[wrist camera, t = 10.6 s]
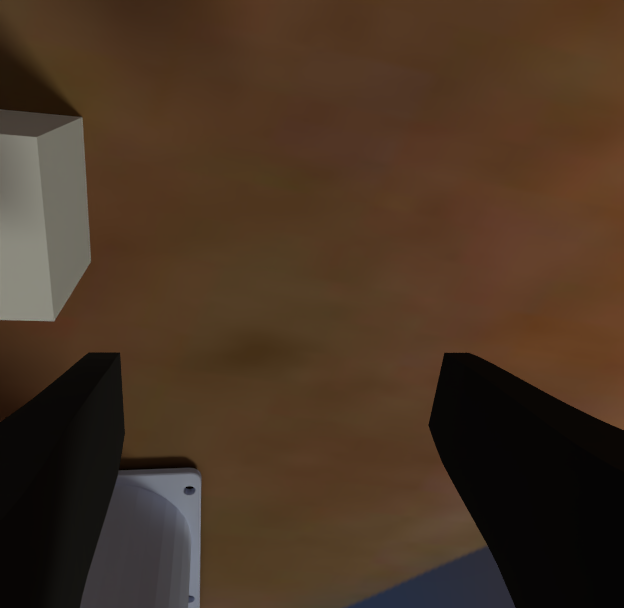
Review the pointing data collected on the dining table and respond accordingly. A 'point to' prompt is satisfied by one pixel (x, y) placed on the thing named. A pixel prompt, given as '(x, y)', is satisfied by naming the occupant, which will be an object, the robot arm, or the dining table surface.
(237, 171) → the dining table surface
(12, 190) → the marked cube
